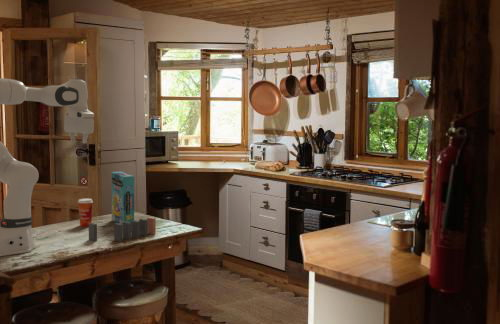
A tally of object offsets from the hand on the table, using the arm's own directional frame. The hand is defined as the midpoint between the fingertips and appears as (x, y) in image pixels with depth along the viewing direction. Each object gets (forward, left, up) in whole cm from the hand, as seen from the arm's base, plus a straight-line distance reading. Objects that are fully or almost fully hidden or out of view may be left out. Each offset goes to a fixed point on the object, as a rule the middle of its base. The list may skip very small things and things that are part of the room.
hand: (78, 142), depth 264 cm
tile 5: (+23, -19, -46) cm, 55 cm away
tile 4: (+18, -19, -46) cm, 53 cm away
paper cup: (+15, +19, -46) cm, 52 cm away
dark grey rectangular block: (0, -10, -46) cm, 47 cm away
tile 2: (+8, -19, -46) cm, 51 cm away
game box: (+32, +10, -46) cm, 57 cm away
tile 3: (+13, -19, -46) cm, 52 cm away
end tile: (+28, -19, -46) cm, 57 cm away
